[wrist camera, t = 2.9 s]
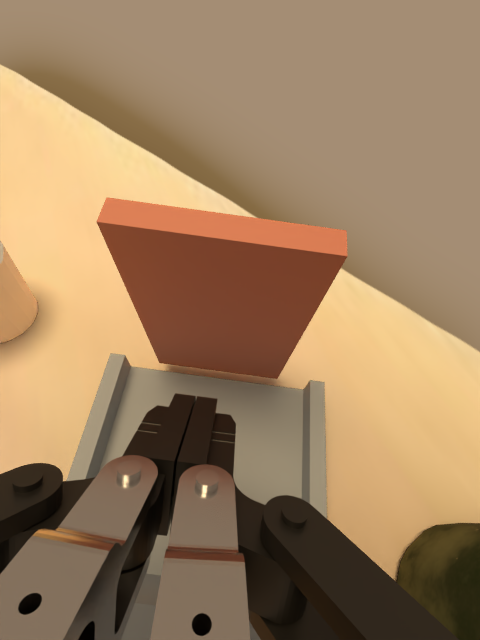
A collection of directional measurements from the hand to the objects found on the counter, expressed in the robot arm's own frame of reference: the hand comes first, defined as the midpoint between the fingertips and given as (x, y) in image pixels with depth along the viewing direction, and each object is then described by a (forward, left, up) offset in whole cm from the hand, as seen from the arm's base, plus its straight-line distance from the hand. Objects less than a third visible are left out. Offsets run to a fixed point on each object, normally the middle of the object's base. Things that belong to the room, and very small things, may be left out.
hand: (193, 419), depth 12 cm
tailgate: (-3, -7, -12) cm, 14 cm away
